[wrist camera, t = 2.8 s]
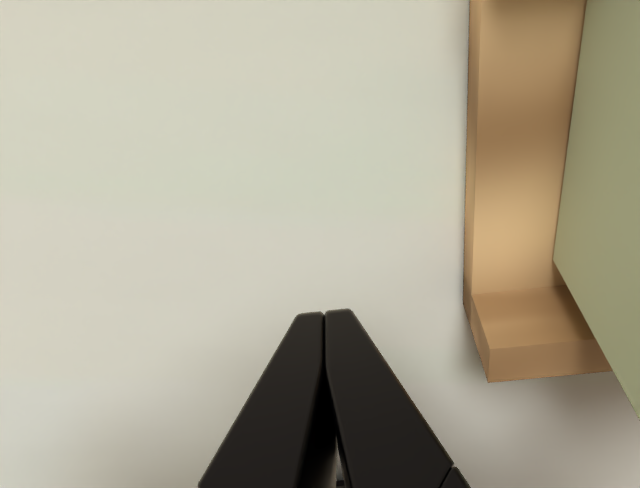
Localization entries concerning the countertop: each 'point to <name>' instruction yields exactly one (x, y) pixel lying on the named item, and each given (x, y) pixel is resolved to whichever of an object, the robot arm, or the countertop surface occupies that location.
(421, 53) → the countertop surface
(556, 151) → the bay
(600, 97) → the pale green block
